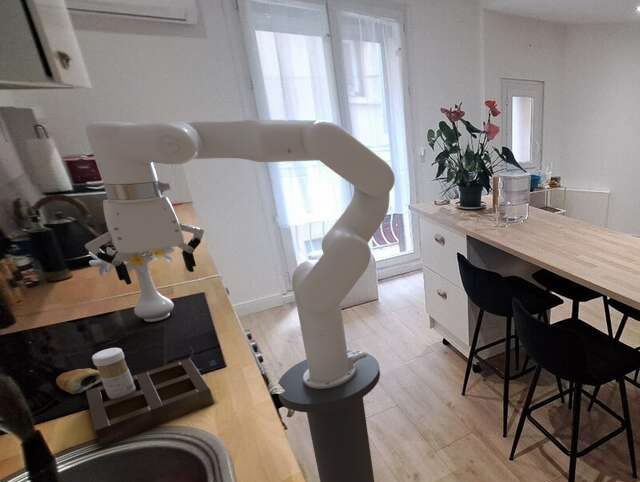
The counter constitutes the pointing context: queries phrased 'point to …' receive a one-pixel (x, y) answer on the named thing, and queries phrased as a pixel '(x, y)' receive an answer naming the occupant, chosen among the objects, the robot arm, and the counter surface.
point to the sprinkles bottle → (114, 372)
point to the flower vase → (143, 282)
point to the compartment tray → (149, 401)
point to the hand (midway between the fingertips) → (160, 276)
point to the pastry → (78, 380)
